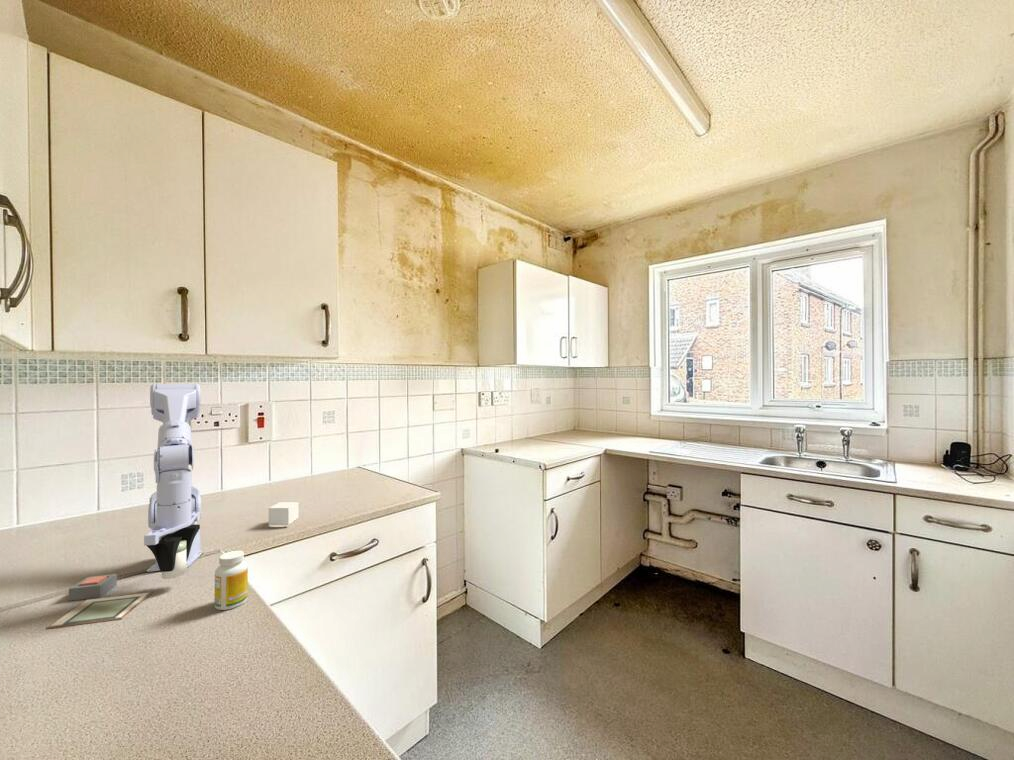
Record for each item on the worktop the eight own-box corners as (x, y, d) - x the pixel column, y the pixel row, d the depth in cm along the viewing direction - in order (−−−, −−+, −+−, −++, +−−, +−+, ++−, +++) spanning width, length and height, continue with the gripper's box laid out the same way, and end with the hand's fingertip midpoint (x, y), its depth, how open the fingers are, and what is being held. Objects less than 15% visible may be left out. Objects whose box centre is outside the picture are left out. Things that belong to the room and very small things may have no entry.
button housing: (87, 588, 86) (87, 577, 86) (116, 585, 87) (116, 573, 87) (68, 600, 81) (68, 588, 81) (100, 597, 82) (100, 585, 82)
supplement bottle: (208, 611, 77) (208, 561, 77) (225, 597, 82) (224, 549, 82) (238, 610, 77) (238, 559, 77) (253, 595, 83) (253, 548, 83)
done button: (90, 583, 85) (90, 577, 85) (106, 581, 86) (106, 575, 86) (80, 589, 82) (80, 583, 82) (97, 587, 83) (97, 582, 83)
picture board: (86, 600, 81) (86, 599, 81) (151, 593, 84) (151, 591, 84) (46, 628, 72) (46, 627, 72) (121, 619, 75) (121, 617, 75)
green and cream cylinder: (168, 571, 87) (168, 540, 87) (190, 568, 88) (190, 539, 88) (157, 580, 83) (157, 548, 83) (180, 577, 84) (180, 546, 84)
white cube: (288, 528, 122) (288, 508, 122) (268, 528, 122) (268, 508, 122) (298, 521, 128) (298, 502, 128) (279, 521, 128) (279, 502, 128)
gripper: (176, 493, 92) (176, 552, 92) (126, 513, 78) (126, 584, 78) (209, 491, 93) (209, 550, 93) (167, 511, 79) (167, 581, 79)
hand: (174, 566), depth 86 cm, fingers closed on green and cream cylinder, 4 cm apart
